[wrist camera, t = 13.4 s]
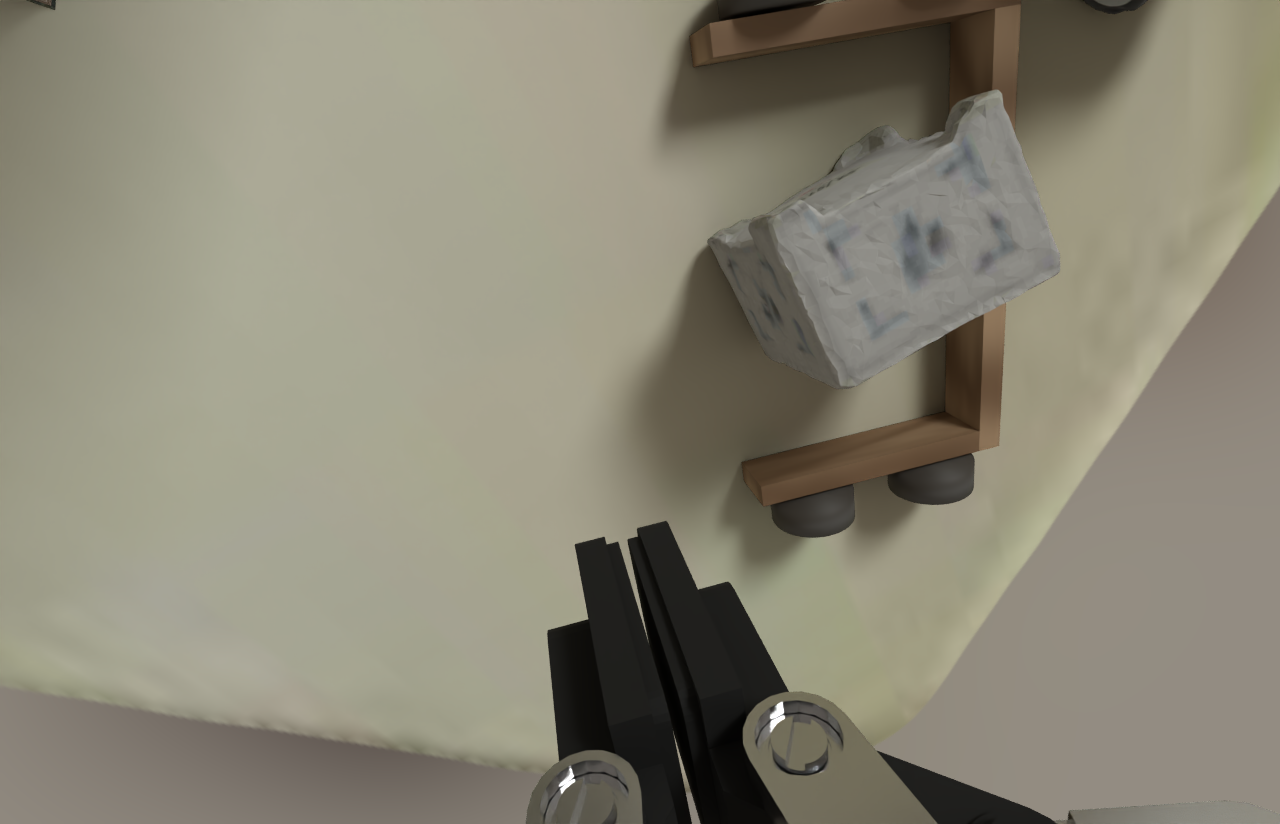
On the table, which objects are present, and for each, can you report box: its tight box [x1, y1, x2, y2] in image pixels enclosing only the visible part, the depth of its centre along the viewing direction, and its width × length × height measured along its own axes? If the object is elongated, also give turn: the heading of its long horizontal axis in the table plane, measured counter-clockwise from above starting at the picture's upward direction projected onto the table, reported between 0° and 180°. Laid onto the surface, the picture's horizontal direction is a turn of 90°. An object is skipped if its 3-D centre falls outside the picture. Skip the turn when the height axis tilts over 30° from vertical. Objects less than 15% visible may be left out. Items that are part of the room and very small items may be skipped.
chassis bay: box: [689, 0, 1021, 538], centre depth 31 cm, size 26×14×4 cm, turn 10°
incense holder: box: [707, 89, 1060, 389], centre depth 28 cm, size 10×8×10 cm
